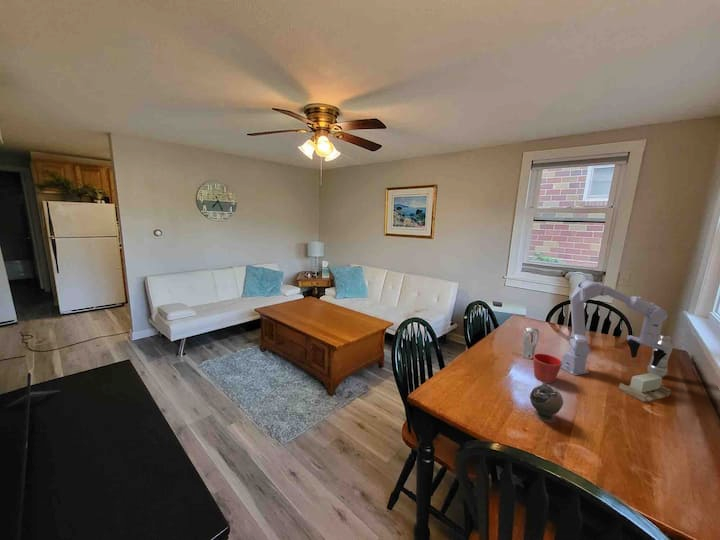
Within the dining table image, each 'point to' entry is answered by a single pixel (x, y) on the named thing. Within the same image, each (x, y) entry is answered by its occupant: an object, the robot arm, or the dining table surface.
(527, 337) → the silver pitcher
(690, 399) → the dining table surface
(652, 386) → the pale green block
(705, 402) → the dining table surface
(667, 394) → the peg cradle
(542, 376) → the flower pot
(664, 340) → the plastic bottle
